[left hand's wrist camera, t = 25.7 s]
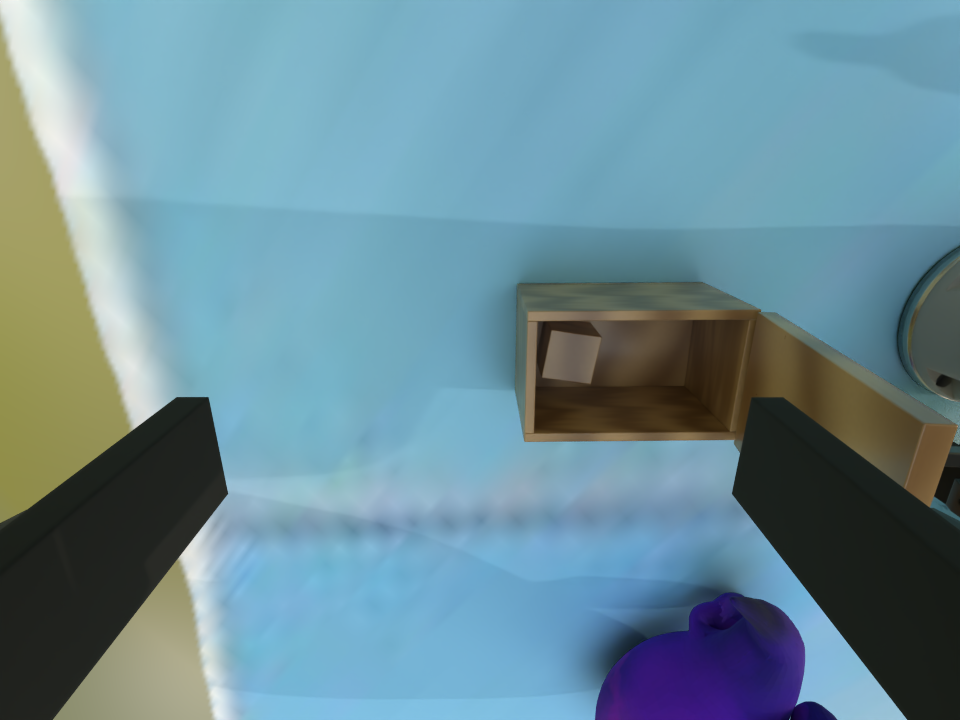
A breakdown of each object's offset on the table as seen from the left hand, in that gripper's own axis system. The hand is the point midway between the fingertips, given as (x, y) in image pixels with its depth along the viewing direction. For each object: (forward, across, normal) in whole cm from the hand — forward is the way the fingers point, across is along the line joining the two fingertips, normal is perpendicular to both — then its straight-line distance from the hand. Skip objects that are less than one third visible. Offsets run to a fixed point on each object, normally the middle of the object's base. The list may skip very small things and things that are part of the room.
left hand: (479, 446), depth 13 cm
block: (+32, +7, -8) cm, 34 cm away
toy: (+32, +22, -41) cm, 57 cm away
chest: (+33, +11, -8) cm, 36 cm away
